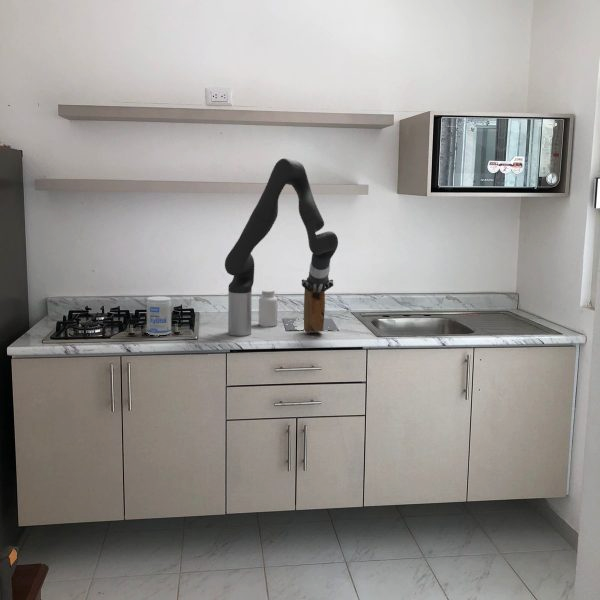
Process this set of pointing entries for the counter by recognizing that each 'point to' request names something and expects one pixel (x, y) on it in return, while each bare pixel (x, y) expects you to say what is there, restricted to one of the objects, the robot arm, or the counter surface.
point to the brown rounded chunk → (314, 312)
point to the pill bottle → (268, 309)
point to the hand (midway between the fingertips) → (315, 295)
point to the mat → (327, 321)
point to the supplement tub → (158, 315)
